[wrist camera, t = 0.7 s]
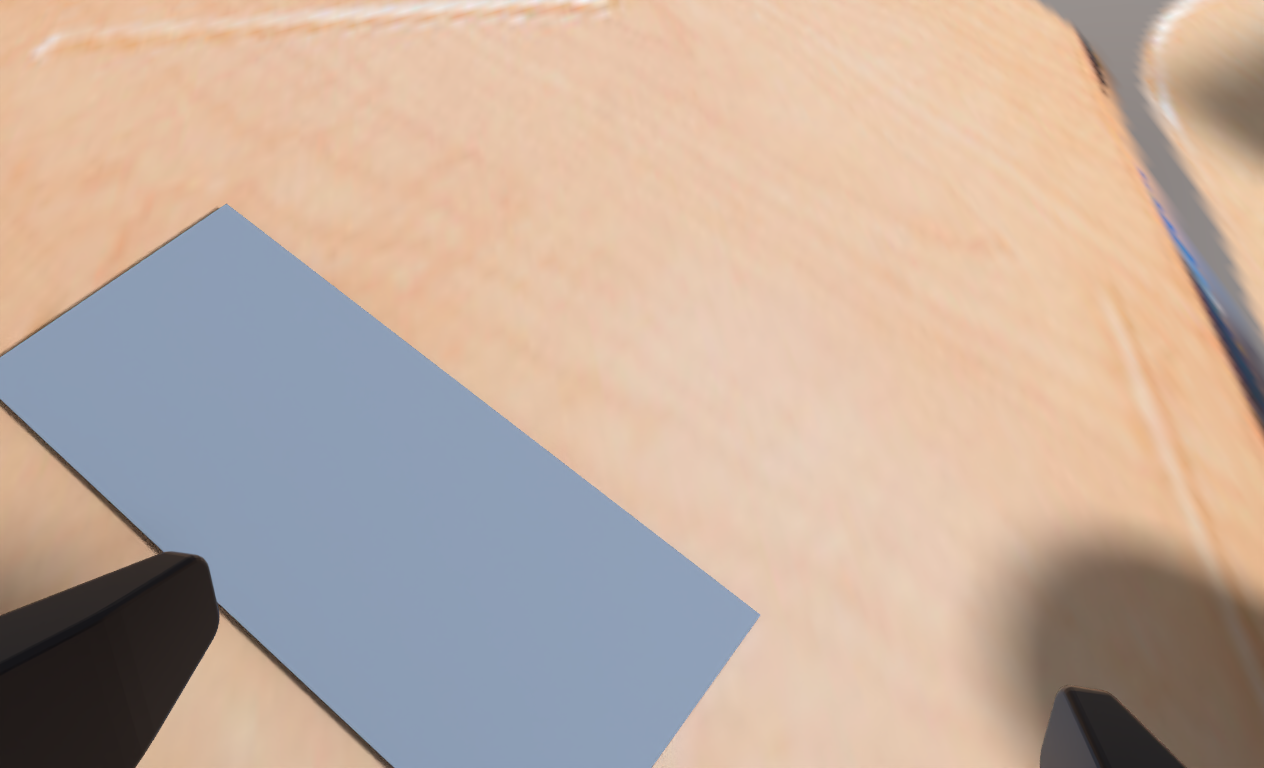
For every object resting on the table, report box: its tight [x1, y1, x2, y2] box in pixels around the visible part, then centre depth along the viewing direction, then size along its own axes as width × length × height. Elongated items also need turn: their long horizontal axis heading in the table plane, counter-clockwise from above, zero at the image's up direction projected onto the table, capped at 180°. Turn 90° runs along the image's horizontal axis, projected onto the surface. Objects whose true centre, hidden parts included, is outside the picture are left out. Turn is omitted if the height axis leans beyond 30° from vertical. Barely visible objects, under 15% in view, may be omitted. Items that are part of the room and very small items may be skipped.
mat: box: [0, 204, 760, 768], centre depth 26 cm, size 9×22×1 cm, turn 52°
